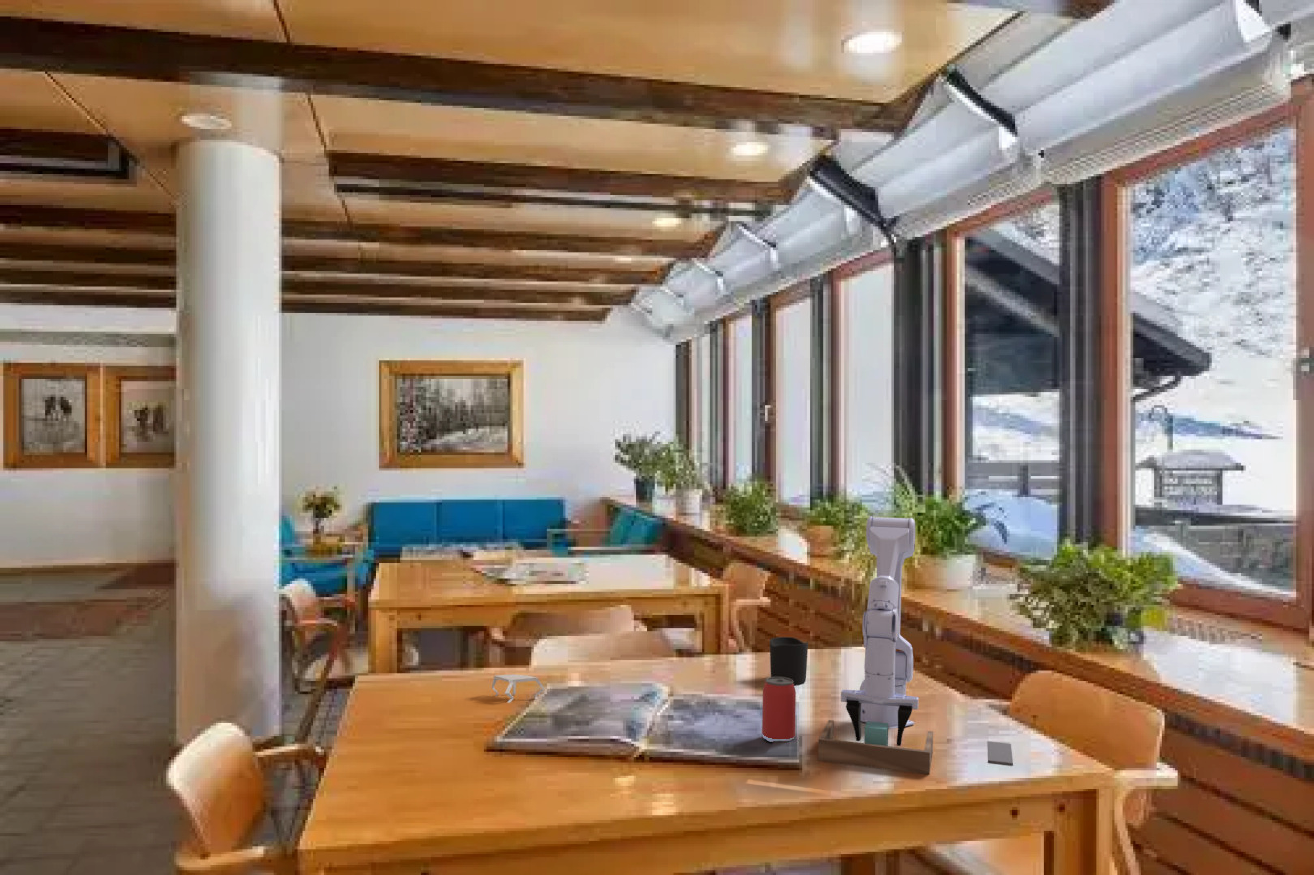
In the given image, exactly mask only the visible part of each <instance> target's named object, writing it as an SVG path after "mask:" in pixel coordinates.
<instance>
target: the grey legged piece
mask: <svg viewBox="0 0 1314 875" xmlns="http://www.w3.org/2000/svg"><path fill="white" fill-rule="evenodd" d="M498 680H500V681H504V682H506V683H507V682H508V683H509V684H508V686H507V688H506V690H505V691H504V694H505V695H506V696H508V698H509V699H508V701H507V702H506V703H507V704H511V703H512V701H513V700H514V696H515V695H516V693H517V692H516V690H517V683H524V682H525V683H526V682H533V681H534V682H536V684H537V685H538V686H539V687H540V688H541V689H540V690H539V691H538V692H536V694H534V695H533V696H534V699H535V701H537V700H538V696H539V695H540V694H541V693H543V691H545V689H546V688H545V687H544V686H543V684H542V683H541V681H540V680H539V678H538V677H536V676H531V675H526V674H525V675H524V674H516V673H515V674H514V673H513V674H512V673H511V674H498V675H493V680H492V684H491V689H492V690H493V692H495V693H496V694H495V697H497V696H498V695H499V692H498V690H497V689H495V685H496V683H497V681H498ZM511 689H512V694H511V692H510V691H511ZM536 699H537V700H536Z"/></svg>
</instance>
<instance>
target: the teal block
mask: <svg viewBox="0 0 1314 875" xmlns="http://www.w3.org/2000/svg"><path fill="white" fill-rule="evenodd" d="M863 738H864V741H863V743H866V744H875V745H883V746H889V728H888V723H880V722H871V721H867V722H865V725H864V736H863Z"/></svg>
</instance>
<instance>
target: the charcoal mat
mask: <svg viewBox="0 0 1314 875" xmlns="http://www.w3.org/2000/svg"><path fill="white" fill-rule="evenodd" d="M986 747H987V748H986V749H987V763H992V764H998V765H999V764H1000V765H1006V764H1007V765H1008V766H1014V761H1013V760H1014V759H1013V753H1012V752H1013V751H1012V743H1008V742H1007V743H1006V742H998V741H992V740H991V741H989V740H988V741H987V746H986Z"/></svg>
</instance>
